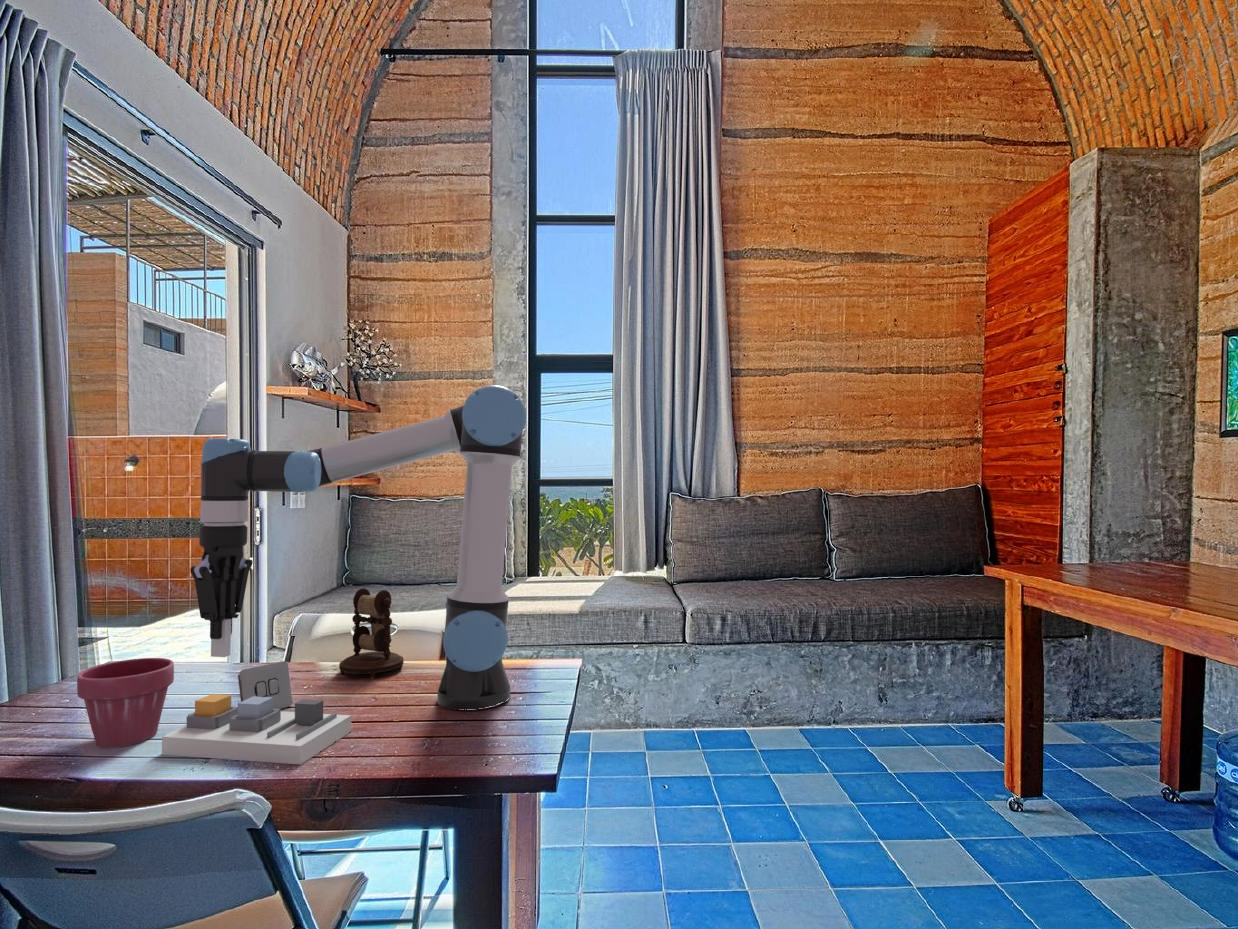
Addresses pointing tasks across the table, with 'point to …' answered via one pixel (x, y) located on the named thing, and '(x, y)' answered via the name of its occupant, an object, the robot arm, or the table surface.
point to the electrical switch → (267, 683)
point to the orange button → (213, 705)
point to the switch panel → (255, 737)
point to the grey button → (255, 707)
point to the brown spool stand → (371, 636)
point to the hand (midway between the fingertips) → (220, 655)
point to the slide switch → (308, 711)
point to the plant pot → (125, 699)
